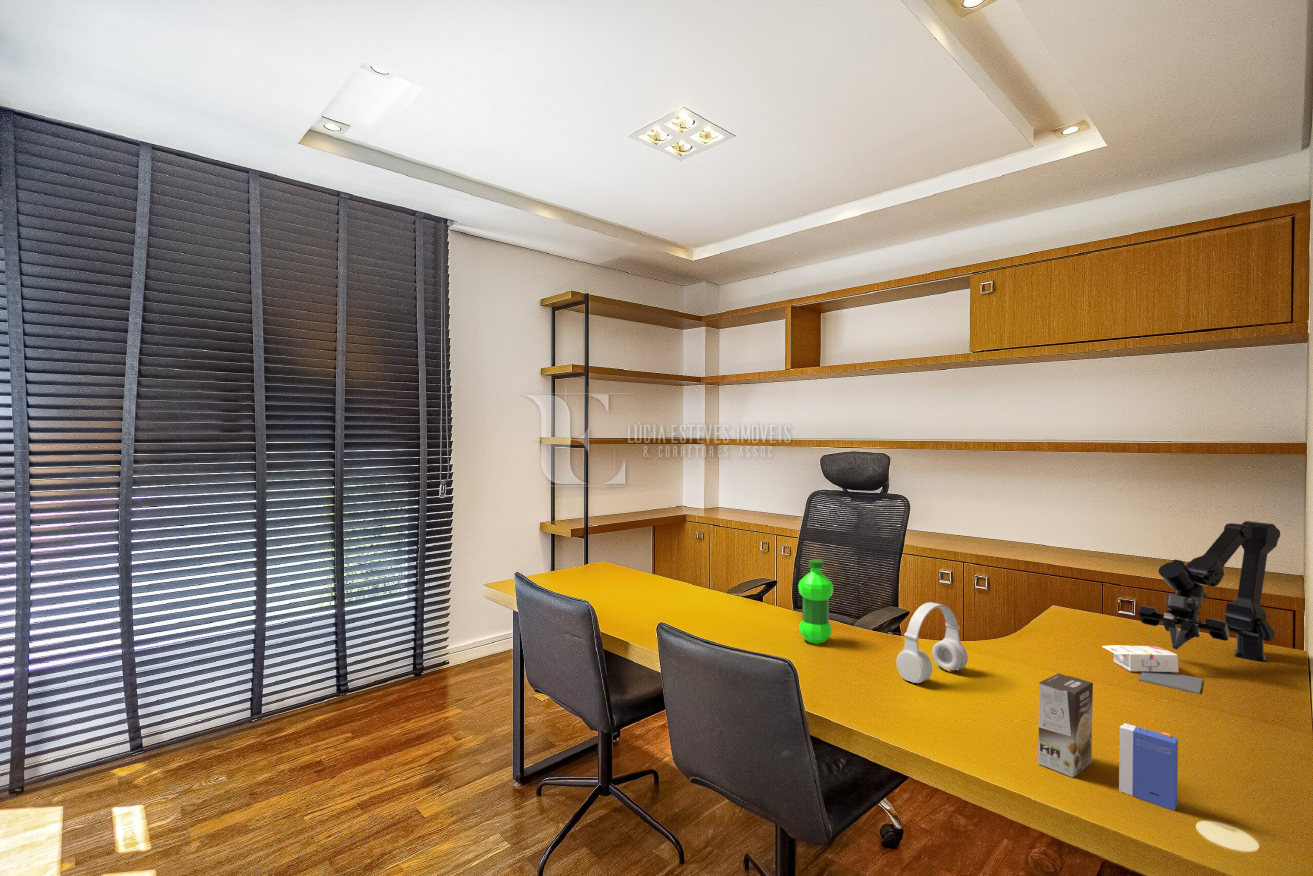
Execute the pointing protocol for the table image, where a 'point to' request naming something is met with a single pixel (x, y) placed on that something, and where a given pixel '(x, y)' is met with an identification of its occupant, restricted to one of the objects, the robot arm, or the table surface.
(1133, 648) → the ink cartridge box
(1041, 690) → the coffee box
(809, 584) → the plastic bottle
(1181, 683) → the mat
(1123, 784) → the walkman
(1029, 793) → the table surface
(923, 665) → the headphones
